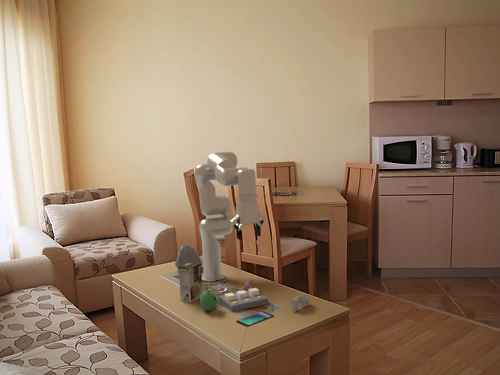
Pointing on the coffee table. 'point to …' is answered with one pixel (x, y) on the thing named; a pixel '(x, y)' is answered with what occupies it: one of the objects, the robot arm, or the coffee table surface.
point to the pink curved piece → (247, 285)
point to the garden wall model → (298, 300)
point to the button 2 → (253, 291)
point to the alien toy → (208, 300)
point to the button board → (243, 301)
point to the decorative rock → (187, 256)
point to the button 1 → (229, 296)
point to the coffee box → (190, 281)
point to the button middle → (241, 294)
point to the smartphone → (254, 319)
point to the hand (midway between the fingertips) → (248, 237)
